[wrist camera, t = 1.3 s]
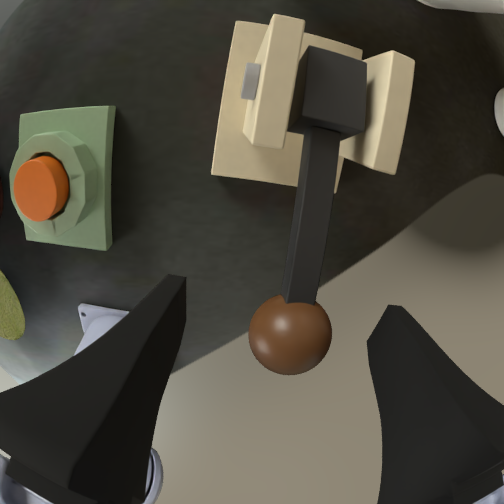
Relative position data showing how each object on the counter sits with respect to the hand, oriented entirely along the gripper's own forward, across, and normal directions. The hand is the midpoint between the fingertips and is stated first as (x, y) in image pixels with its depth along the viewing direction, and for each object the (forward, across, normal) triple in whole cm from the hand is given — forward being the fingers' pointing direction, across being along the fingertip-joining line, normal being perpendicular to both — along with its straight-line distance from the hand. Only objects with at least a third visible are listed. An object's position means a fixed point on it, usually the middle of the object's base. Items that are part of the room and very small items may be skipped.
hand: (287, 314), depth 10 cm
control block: (+9, +16, 0) cm, 18 cm away
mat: (+7, +27, +12) cm, 31 cm away
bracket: (+12, 0, -6) cm, 13 cm away
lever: (+3, 0, -2) cm, 4 cm away
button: (+7, +15, -1) cm, 17 cm away
